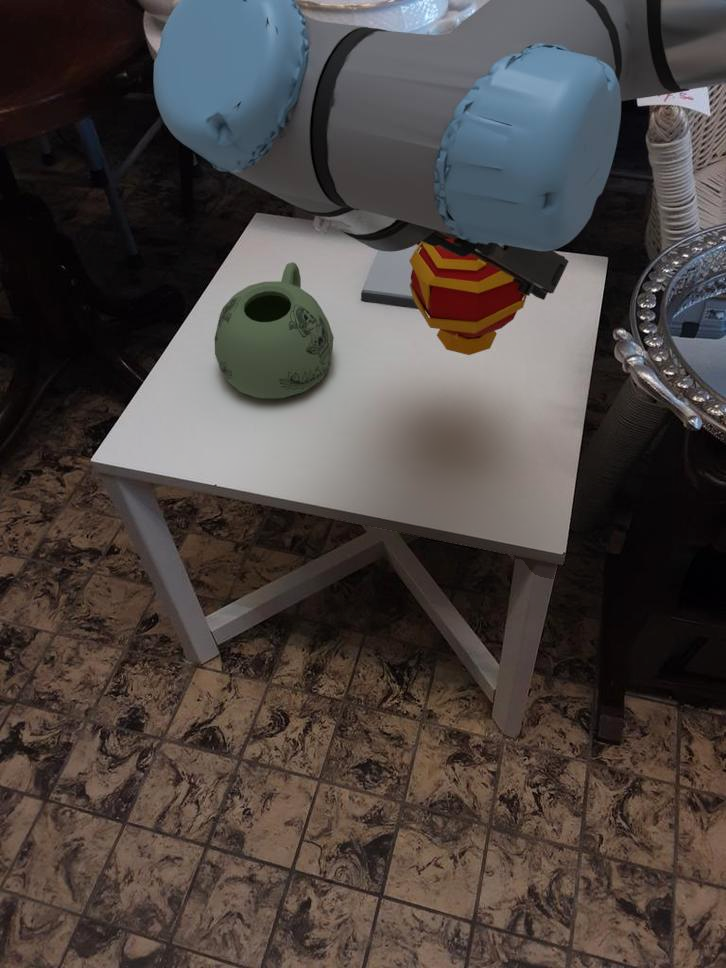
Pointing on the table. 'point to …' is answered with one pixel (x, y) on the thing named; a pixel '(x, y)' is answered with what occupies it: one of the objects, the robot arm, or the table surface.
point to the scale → (390, 279)
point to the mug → (273, 338)
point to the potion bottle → (462, 297)
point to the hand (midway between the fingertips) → (491, 260)
